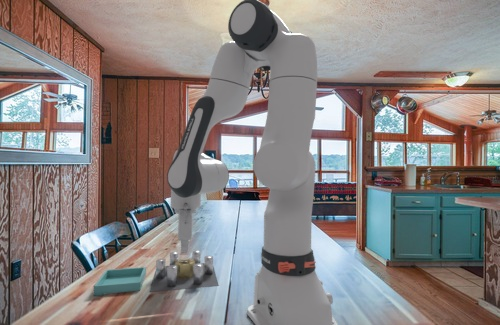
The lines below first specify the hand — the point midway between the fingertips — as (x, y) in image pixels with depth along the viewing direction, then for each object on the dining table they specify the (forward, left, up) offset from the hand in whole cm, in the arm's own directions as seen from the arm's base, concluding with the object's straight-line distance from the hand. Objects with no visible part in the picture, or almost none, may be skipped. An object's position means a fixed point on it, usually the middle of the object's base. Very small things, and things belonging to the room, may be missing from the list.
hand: (184, 247), depth 81 cm
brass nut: (0, 0, -8) cm, 8 cm away
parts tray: (-2, +17, -9) cm, 19 cm away
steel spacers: (0, 0, -9) cm, 9 cm away
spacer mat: (0, 0, -9) cm, 9 cm away
